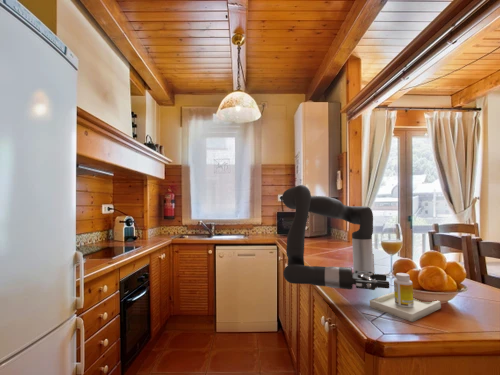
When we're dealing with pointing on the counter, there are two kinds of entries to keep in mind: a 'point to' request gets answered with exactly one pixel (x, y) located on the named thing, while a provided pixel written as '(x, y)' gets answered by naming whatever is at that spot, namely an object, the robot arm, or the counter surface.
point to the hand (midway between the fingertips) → (387, 281)
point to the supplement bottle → (403, 290)
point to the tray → (410, 314)
